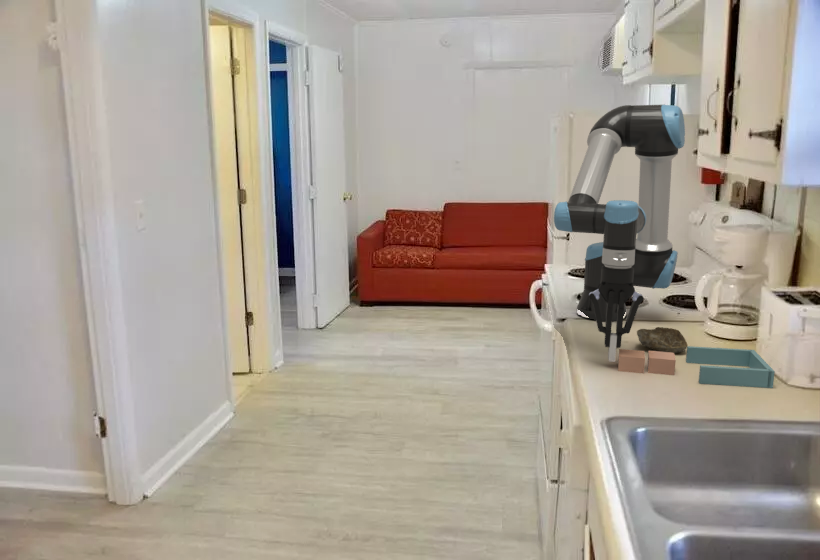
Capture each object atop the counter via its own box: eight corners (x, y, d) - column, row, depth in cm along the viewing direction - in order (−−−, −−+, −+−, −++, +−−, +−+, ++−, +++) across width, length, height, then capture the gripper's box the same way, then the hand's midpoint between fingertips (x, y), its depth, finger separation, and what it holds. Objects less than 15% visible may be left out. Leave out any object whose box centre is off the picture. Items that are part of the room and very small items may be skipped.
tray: (685, 361, 182) (687, 346, 181) (752, 365, 179) (754, 349, 178) (699, 383, 166) (701, 367, 165) (772, 388, 164) (774, 371, 163)
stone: (639, 347, 187) (638, 319, 190) (634, 358, 194) (633, 330, 197) (690, 350, 185) (688, 322, 189) (682, 361, 192) (680, 333, 196)
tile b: (618, 364, 180) (619, 348, 179) (643, 366, 179) (644, 351, 178) (618, 371, 175) (619, 356, 174) (643, 374, 173) (645, 358, 172)
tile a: (647, 365, 179) (648, 350, 178) (672, 368, 177) (674, 352, 177) (647, 373, 173) (649, 357, 173) (674, 376, 172) (675, 360, 171)
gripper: (590, 267, 170) (585, 362, 175) (648, 269, 167) (641, 366, 172) (589, 261, 177) (583, 353, 182) (644, 263, 175) (637, 356, 179)
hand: (611, 359), depth 177 cm, fingers closed
